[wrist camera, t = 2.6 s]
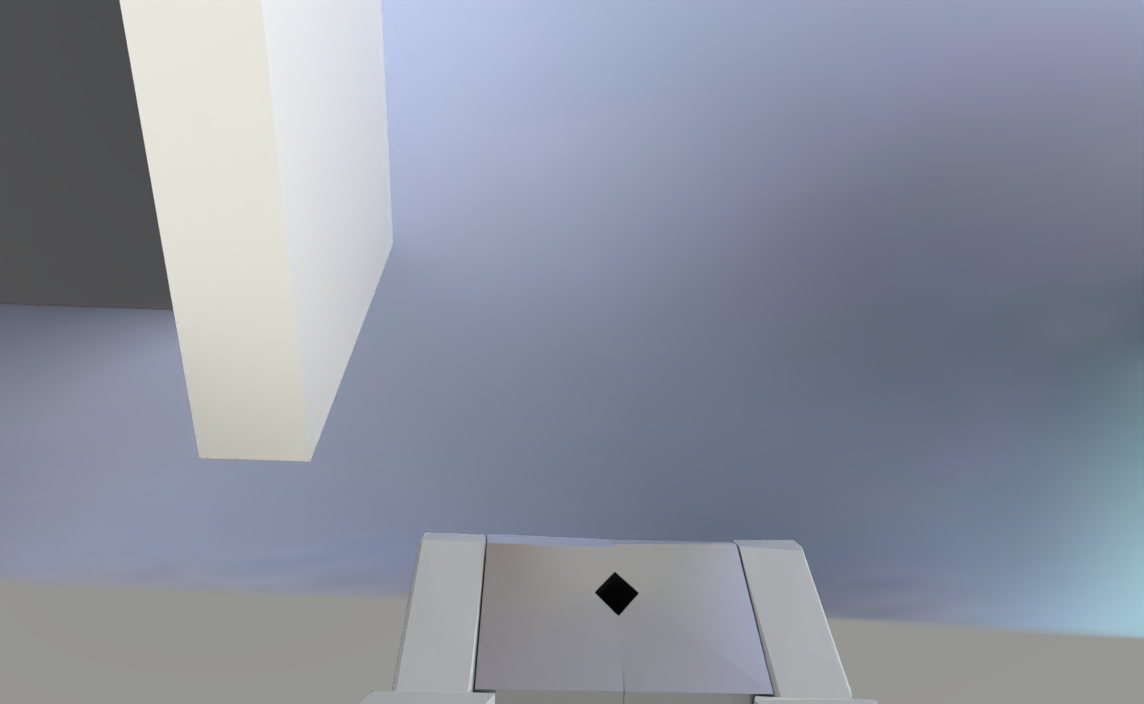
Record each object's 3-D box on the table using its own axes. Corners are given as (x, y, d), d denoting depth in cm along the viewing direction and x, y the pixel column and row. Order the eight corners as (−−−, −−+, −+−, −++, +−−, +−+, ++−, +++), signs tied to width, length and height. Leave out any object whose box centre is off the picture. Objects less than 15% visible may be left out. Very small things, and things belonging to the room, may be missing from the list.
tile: (372, -177, 22) (244, -157, 13) (393, 243, 27) (310, 461, 18) (276, -181, 22) (82, -166, 13) (314, 240, 27) (193, 458, 18)
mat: (221, -292, 21) (216, -293, 20) (287, 307, 27) (284, 313, 27) (-366, -322, 20) (-382, -324, 20) (-151, 291, 27) (-160, 297, 27)
